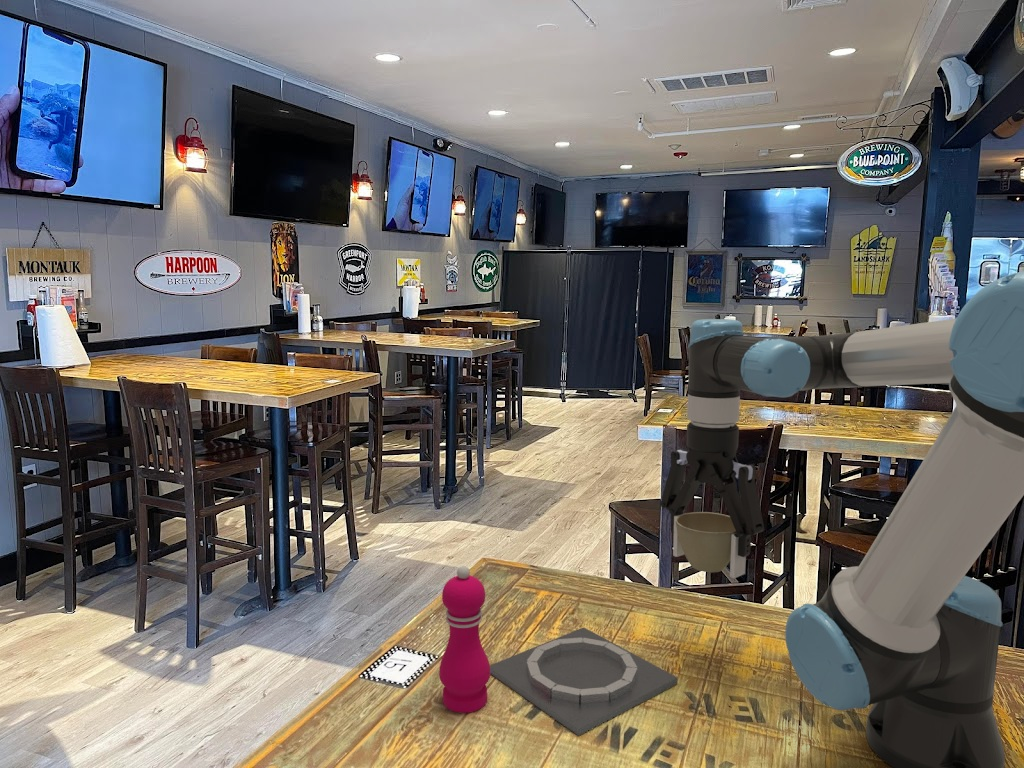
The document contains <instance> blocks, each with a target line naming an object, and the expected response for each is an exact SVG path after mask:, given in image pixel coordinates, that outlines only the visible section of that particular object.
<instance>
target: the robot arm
mask: <svg viewBox="0 0 1024 768" xmlns="http://www.w3.org/2000/svg"><path fill="white" fill-rule="evenodd" d="M743 327H744V326H743V322H741V321H740V320H737V319H729V318H728V319H725V318H724V319H723V318H722V319H721V318H718V319H717V318H716V319H715V318H707V319H705V318H704V319H697V320H695V321H693V322H692V323H691V326H690V335H689V337H690V338H689V343H688V347H687V348H688V375H687V376H688V380H687V381H688V382H687V383H688V386H687V387H688V393H687V406H686V407H687V408H686V409H687V411H686V418H687V420H689V421H690V422H689V423H688V424H687V426H686V446H687V447H688V450H686V449H684V448H682V449H677V450H673V451H671V453H670V468H669V471H668V475H667V478H666V482H665V486H664V489H663V493H662V496H661V499H660V500H661V501H660V507H661V508H663V509H666V510H667V511H668V512H669V514H670V533H671V534H673V540H672V541H673V544H672V545H673V546H672V547H673V549H672V556H673V557H675V558H678V557H681V556H685V554H684V552H683V550H682V547H681V544H680V541H679V538H678V533H677V528H676V518H677V517H678V516H680V515H682V514H686V513H687V511H688V509H687V507H688V506H689V504H690V502H691V501H692V499H693V498H694V495H695V493H696V492H697V490H698V489H699V488H700V486H701V484H703V483H704V484H705V483H707V484H708V485H709V486H714V487H715V489H716V491H717V493H719V494H720V495H721V498H722V500H723V503H724V505H725V508H726V510H727V513H728V516H730V518H731V520H732V523H733V525H734V528H735V530H736V532H737V533H734V534H732V535H731V560H730V562H729V578H731V579H732V578H733V579H736V578H739V577H740V576H744V575H746V561H747V556H750V554H751V550H752V549H751V548H752V547H751V545H752V536H754V535H757V534H761V533H762V532H765V524H764V519H763V516H762V510H761V505H760V500H759V496H758V491H757V490H758V489H757V485H756V481H755V480H756V471H757V470H756V469H757V467H756V465H754V464H749V465H746V464H743V463H739V461H738V459H737V451H738V448H739V436H740V427H739V426H738V424H736V423H737V422H739V421H740V407H741V406H740V402H741V391H745V392H750V393H754V394H757V395H761V396H763V397H768V398H769V397H770V398H771V397H775V398H789V397H792V396H793V395H796V393H798V392H799V391H802V392H803V391H809V390H811V391H812V390H824V389H826V390H827V389H849V388H863V387H877V386H878V387H879V386H897V385H898V386H901V385H903V386H905V385H906V386H907V385H925V384H927V385H930V384H931V385H933V384H948V387H949V388H948V389H949V392H950V395H951V396H952V398H953V400H954V402H955V408H954V409H953V410H952V412H951V414H950V416H949V417H948V419H947V421H945V424H944V426H943V427H942V429H940V432H939V434H938V436H937V437H936V439H935V441H934V442H933V444H932V445H931V447H930V449H929V450H928V451H927V454H926V455H925V457H924V458H923V460H922V462H921V464H920V465H919V466H918V469H917V470H916V471H915V473H914V474H913V476H912V478H911V480H910V481H909V483H908V485H907V487H906V488H905V490H904V492H903V493H902V495H901V496H900V498H899V500H898V501H897V503H896V504H895V506H894V508H892V509H893V510H892V512H891V513H890V515H889V516H888V518H887V519H886V522H885V523H884V525H883V526H882V528H881V529H880V530H879V532H878V534H877V536H876V537H875V539H874V541H873V542H872V544H871V546H870V547H869V549H868V551H867V553H866V554H865V556H864V557H863V559H862V561H861V562H860V564H859V565H857V566H849V567H846V568H843V569H842V570H840V571H839V572H838V573H837V574H836V575H835V576H834V578H832V581H831V583H830V584H829V586H828V587H827V589H826V591H825V592H824V594H823V596H822V597H821V599H820V600H819V601H817V602H816V603H804V604H802V605H800V607H796V608H795V609H794V610H792V611H791V612H790V614H789V615H788V617H787V620H786V623H785V629H784V631H785V632H784V633H785V635H784V636H785V637H784V638H785V644H786V648H787V651H788V655H789V656H788V657H789V660H790V663H791V664H792V665H791V666H792V667H793V669H794V671H795V673H796V675H797V677H798V679H799V680H800V681H801V683H802V685H803V686H804V687H805V688H806V690H807V691H808V692H809V693H810V694H811V695H812V696H813V697H814V698H815V699H816V700H817V701H818V702H819V703H821V704H823V705H824V706H826V707H830V708H831V709H834V710H836V711H849V710H852V709H865V708H866V707H868V706H870V705H871V706H870V710H869V711H868V713H867V716H866V718H867V719H866V726H865V727H866V728H865V735H866V740H867V742H868V745H869V747H870V748H871V750H872V751H873V752H874V753H875V754H876V755H877V756H878V758H880V759H881V760H882V761H883V762H885V763H886V764H888V765H889V766H890V767H892V768H1005V760H1006V756H1005V755H1006V754H1005V749H1004V745H1003V742H1002V738H1001V734H1000V731H999V727H998V724H997V721H996V716H995V714H994V713H995V712H994V710H993V704H994V703H993V702H994V691H995V685H996V675H997V665H998V664H997V663H998V655H999V646H1000V636H1001V627H1003V624H1004V623H1003V622H1002V600H1001V598H1000V597H999V595H998V593H996V591H995V590H994V589H993V588H992V587H990V586H988V585H987V584H985V583H983V582H981V581H979V580H976V579H975V578H972V577H970V576H967V575H966V574H967V573H968V571H970V569H971V567H972V566H973V565H974V564H975V562H976V561H977V559H978V558H979V557H980V556H981V554H982V553H983V551H984V550H985V548H986V547H987V546H988V545H989V543H990V542H991V541H992V539H993V538H994V536H995V535H996V533H997V532H998V531H999V530H1000V528H1001V527H1002V525H1003V524H1004V522H1005V521H1007V519H1008V517H1010V514H1011V513H1012V511H1013V510H1014V509H1015V507H1016V506H1017V505H1018V503H1019V502H1020V501H1021V500H1022V498H1023V497H1024V271H1019V272H1014V273H1011V274H1008V275H1005V276H1002V277H999V278H998V279H996V280H994V281H991V282H990V283H989V284H987V285H985V286H984V287H982V288H981V289H980V290H978V291H977V292H976V293H975V294H973V296H972V297H971V298H970V299H969V300H968V301H967V302H966V303H965V304H964V306H963V307H962V309H961V310H960V312H959V313H958V315H957V317H955V318H949V319H941V320H934V321H929V322H927V321H925V322H920V323H913V324H906V325H898V326H889V327H883V328H875V329H869V330H862V331H852V332H845V333H836V334H827V335H825V334H823V335H814V336H813V335H812V336H811V335H810V336H808V335H807V336H806V335H805V336H779V337H775V336H774V337H755V336H746V335H744V328H743ZM688 465H689V467H690V470H689V471H688V473H687V475H686V476H685V473H686V471H687V470H686V469H687V466H688ZM734 474H735V475H734ZM684 476H685V478H684ZM683 479H684V480H685V481H684V483H683ZM736 479H737V481H736ZM682 483H683V484H682ZM683 512H684V513H683Z"/></svg>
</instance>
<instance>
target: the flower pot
mask: <svg viewBox="0 0 1024 768" xmlns="http://www.w3.org/2000/svg"><path fill="white" fill-rule="evenodd" d="M685 513H686V514H682V515H680V516H678V517H677V518H676V528H677V533H678V538H679V541H680V544H681V547H682V550H683V552H684V556H685V558H686V560H687V562H688V563H689V565H690V566H691V567H692V568H693V569H694V570H697V571H700V572H704V573H705V572H707V573H719V572H722V571H723V570H725V569H726V567H727V566H728V565H729V564H730V560H731V535H732V534H734V533H737V532H736V530H735V528H734V525H733V523H732V520H731V518H730V515H729V514H728V515H727V514H722V513H719V512H718V513H717V512H709V511H699V512H698V511H697V512H695V511H694V512H685Z"/></svg>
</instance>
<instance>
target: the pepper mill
mask: <svg viewBox="0 0 1024 768" xmlns="http://www.w3.org/2000/svg"><path fill="white" fill-rule="evenodd" d="M456 573H457V574H456V576H453V577H452V578H450V579H448V580H447V582H446V583H445V584H444V586H443V589H442V592H441V593H442V594H441V599H442V603H443V605H444V606H445V607H444V608H446V612H445V616H446V618H445V621H446V624H447V625H449V637H448V641H447V645H446V648H445V650H444V651H443V655H442V656H441V660H440V663H439V674H438V675H439V680H440V682H441V684H442V686H444V687H443V689H442V702H443V705H444V706H445V707H446V708H447V709H448V710H449V711H452V712H455V713H460V714H467V713H474V712H477V711H479V710H480V709H483V707H484V706H485V705H486V704H487V702H488V687H487V684H488V682H489V680H490V677H491V674H490V665H491V664H490V662H489V658H488V656H487V653H486V652H485V650H484V647H483V645H482V642H481V639H480V632H479V631H480V629H479V626H480V623H481V622H482V621H483V617H482V614H483V610H482V609H481V608H482V607H483V605H484V603H485V601H486V590H485V587H484V585H483V583H482V582H481V580H479V578H477V577H475V576H473V575H470V574H471V571H470V569H469V567H467V566H464V565H463V566H460V567H459V568H457V571H456Z"/></svg>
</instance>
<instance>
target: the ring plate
mask: <svg viewBox="0 0 1024 768" xmlns="http://www.w3.org/2000/svg"><path fill="white" fill-rule="evenodd" d="M490 676H493V677H494V678H496V679H497V680H498V681H500V682H501V683H503V684H504V685H505V686H507V687H508V688H509V689H511V690H512V691H514V692H516V693H517V694H518V695H520V696H521V697H522V698H524V699H525V700H526V701H529V702H530V703H531V704H533V705H534V706H536V707H537V708H538V709H539V710H541V711H542V712H543V713H545V714H547V715H548V716H549V717H550V718H552V719H554V720H555V721H557V722H558V723H559V724H561V725H562V726H564V727H565V728H566V729H567V730H569V731H571V732H572V733H574V734H575V735H576V736H578V737H580V736H582V735H584V734H586V733H588V732H589V731H591V730H593V729H595V728H596V727H595V726H597V727H599V726H601V725H602V724H601V723H603V722H605V723H606V722H608V721H610V720H612V719H614V718H616V717H617V715H618V716H619V714H620V715H621V713H622V714H623V713H625V712H627V711H629V710H631V709H633V708H635V707H637V706H638V705H640V704H642V703H644V702H646V701H648V700H649V699H651V698H653V697H655V696H657V695H659V694H661V693H663V692H666V690H669V689H670V688H673V687H674V686H676V685H678V681H679V680H678V679H679V678H678V676H676V675H674V674H672V673H670V672H669V671H667V670H665V669H663V668H660V667H659V666H657V665H655V664H653V663H651V662H649V661H647V660H646V659H644V658H642V657H640V656H638V655H637V654H635V653H633V652H630V651H629V650H627V649H625V648H623V647H622V646H619V645H617V644H616V643H614V642H611V641H610V640H608V639H606V638H605V637H603V636H601V635H599V634H597V633H595V632H593V631H592V630H590V629H588V628H586V627H581V628H579V629H576V630H574V631H571V632H569V633H566V634H564V635H561V636H559V637H556V638H554V639H551V640H549V641H546V642H544V643H542V644H539V645H537V646H534V647H532V648H530V649H528V650H527V649H526V650H525V651H522V652H520V653H517V654H515V655H512V656H509V657H507V658H505V659H502V660H500V661H498V662H495V663H492V664H490ZM636 705H637V706H636ZM613 717H614V718H613ZM609 719H610V720H609ZM607 720H608V721H607ZM600 724H601V725H600ZM603 724H604V723H603ZM598 725H599V726H598ZM594 727H595V728H594ZM592 728H593V729H592ZM588 730H589V731H588ZM587 731H588V732H587ZM585 732H586V733H585ZM583 733H584V734H583Z"/></svg>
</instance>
